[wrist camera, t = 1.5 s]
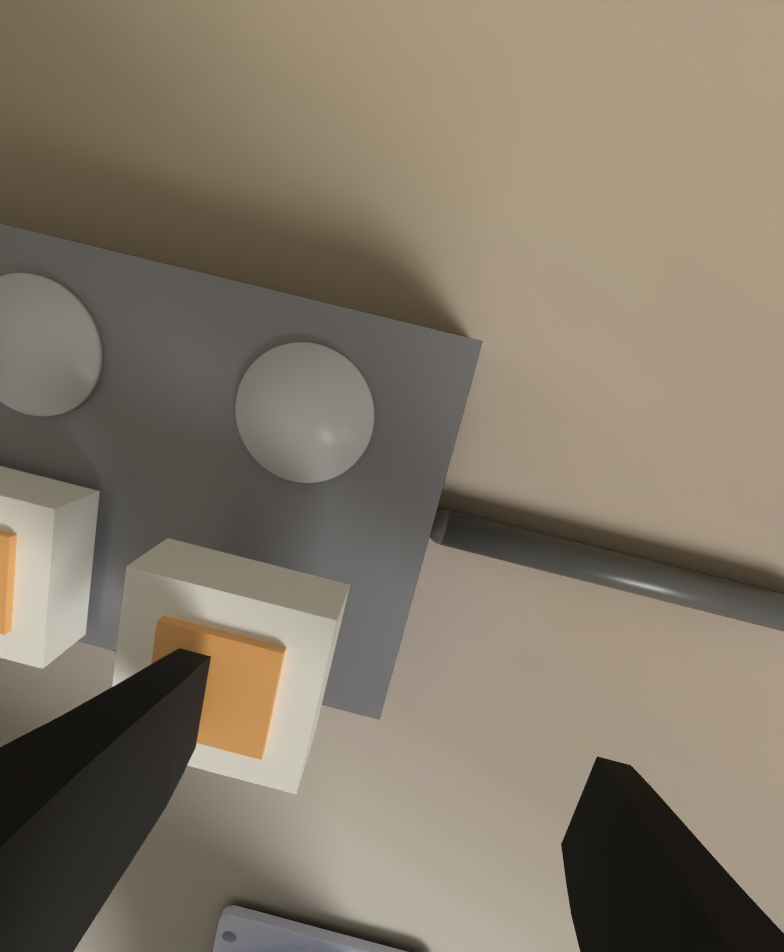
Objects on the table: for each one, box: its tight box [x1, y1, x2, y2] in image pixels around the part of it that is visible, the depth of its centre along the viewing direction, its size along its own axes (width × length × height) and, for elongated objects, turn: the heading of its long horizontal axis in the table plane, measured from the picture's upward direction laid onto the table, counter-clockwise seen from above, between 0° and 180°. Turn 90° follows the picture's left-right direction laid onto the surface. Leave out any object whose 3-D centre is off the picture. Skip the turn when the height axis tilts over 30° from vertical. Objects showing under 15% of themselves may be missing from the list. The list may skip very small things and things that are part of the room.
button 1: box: [112, 538, 350, 794], centre depth 10 cm, size 4×4×2 cm
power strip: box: [0, 223, 784, 720], centre depth 13 cm, size 10×31×3 cm, turn 77°
